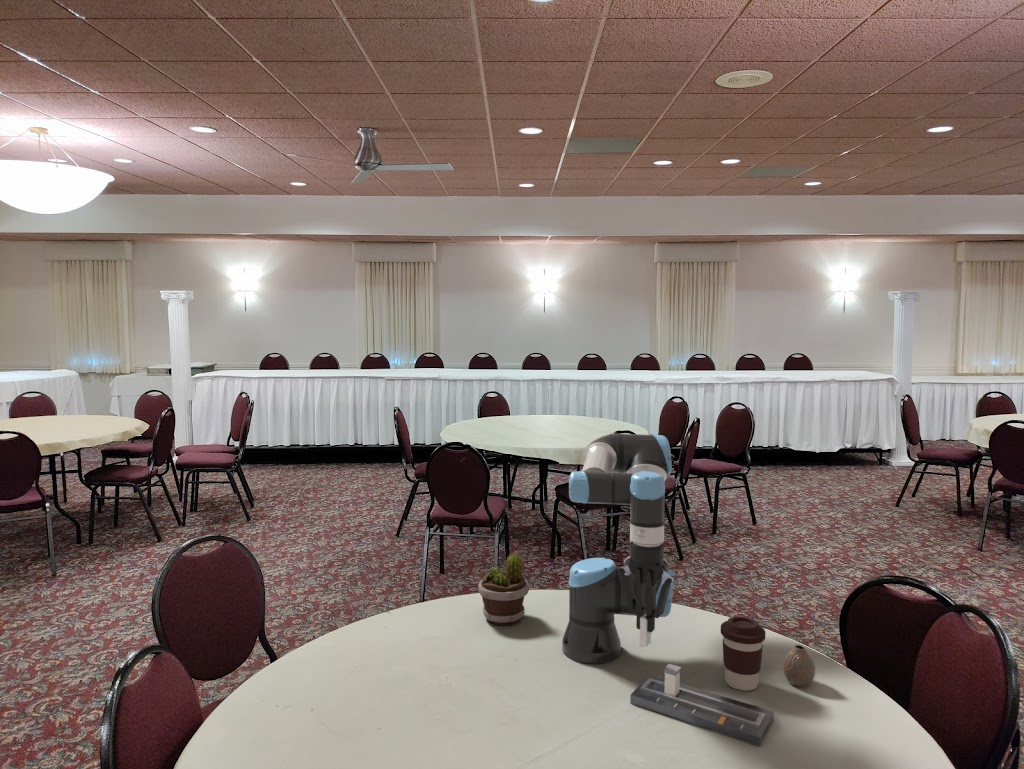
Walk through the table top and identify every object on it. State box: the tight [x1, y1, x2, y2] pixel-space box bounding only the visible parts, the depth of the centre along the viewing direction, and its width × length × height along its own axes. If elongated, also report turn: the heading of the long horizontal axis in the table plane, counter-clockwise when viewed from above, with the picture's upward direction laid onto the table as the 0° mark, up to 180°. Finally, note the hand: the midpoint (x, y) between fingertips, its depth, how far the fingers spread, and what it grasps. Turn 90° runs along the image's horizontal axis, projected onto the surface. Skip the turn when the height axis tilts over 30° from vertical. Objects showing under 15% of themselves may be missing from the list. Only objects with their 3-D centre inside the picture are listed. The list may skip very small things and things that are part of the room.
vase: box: [782, 644, 816, 688], centre depth 159 cm, size 7×7×9 cm
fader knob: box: [663, 663, 682, 697], centre depth 150 cm, size 3×3×6 cm
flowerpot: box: [477, 549, 531, 626], centre depth 194 cm, size 14×15×20 cm
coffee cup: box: [720, 615, 766, 692], centre depth 158 cm, size 10×10×15 cm
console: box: [629, 673, 775, 747], centre depth 147 cm, size 28×11×3 cm, turn 55°
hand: (645, 644), depth 153 cm, fingers closed
